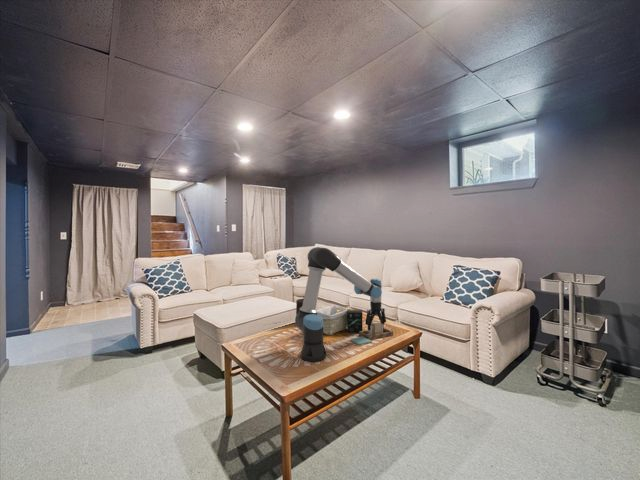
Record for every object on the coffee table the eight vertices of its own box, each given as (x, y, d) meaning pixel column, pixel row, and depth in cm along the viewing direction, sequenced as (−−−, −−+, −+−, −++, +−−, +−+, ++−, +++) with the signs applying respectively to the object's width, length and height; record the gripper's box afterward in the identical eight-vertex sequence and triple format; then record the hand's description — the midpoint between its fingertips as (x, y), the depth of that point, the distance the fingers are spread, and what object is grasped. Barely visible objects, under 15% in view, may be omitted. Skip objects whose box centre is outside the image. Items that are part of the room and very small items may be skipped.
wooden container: (317, 323, 231) (317, 296, 231) (300, 326, 224) (300, 298, 224) (309, 319, 244) (309, 293, 244) (293, 321, 237) (293, 294, 237)
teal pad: (359, 345, 184) (359, 343, 184) (350, 340, 193) (350, 338, 193) (371, 342, 189) (371, 340, 189) (362, 337, 198) (362, 336, 198)
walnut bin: (368, 340, 193) (368, 336, 193) (358, 335, 203) (358, 331, 203) (393, 335, 203) (393, 331, 203) (382, 330, 212) (382, 327, 212)
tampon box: (362, 328, 217) (362, 309, 217) (362, 332, 208) (362, 312, 208) (347, 328, 218) (347, 308, 218) (347, 332, 209) (347, 312, 209)
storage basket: (329, 336, 201) (330, 315, 200) (312, 330, 211) (313, 310, 210) (349, 328, 219) (350, 309, 218) (332, 323, 229) (333, 304, 229)
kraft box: (375, 336, 199) (375, 324, 199) (370, 334, 204) (370, 322, 204) (381, 335, 202) (381, 323, 202) (376, 333, 206) (376, 321, 206)
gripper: (366, 303, 194) (366, 337, 194) (391, 300, 204) (391, 333, 204) (359, 301, 201) (359, 334, 201) (384, 298, 211) (384, 330, 211)
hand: (375, 333), depth 203 cm, fingers open, 9 cm apart
